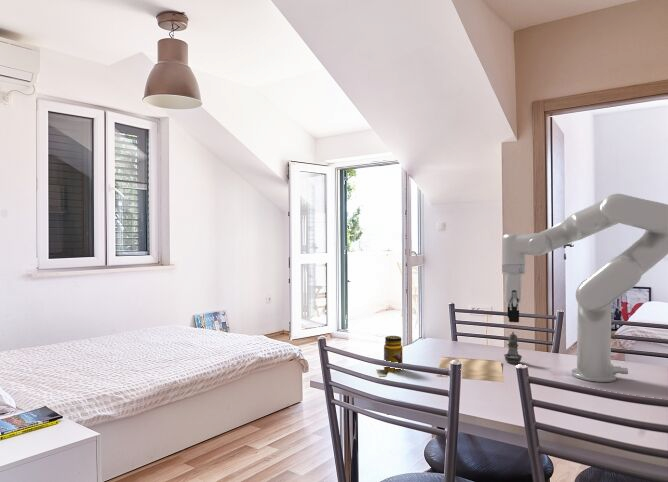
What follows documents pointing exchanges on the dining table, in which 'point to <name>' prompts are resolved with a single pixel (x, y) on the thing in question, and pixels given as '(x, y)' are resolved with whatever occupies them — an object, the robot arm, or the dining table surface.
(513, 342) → the dark grey tall piece
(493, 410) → the dining table surface
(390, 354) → the condiment
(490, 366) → the board
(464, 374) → the laid floor planks
